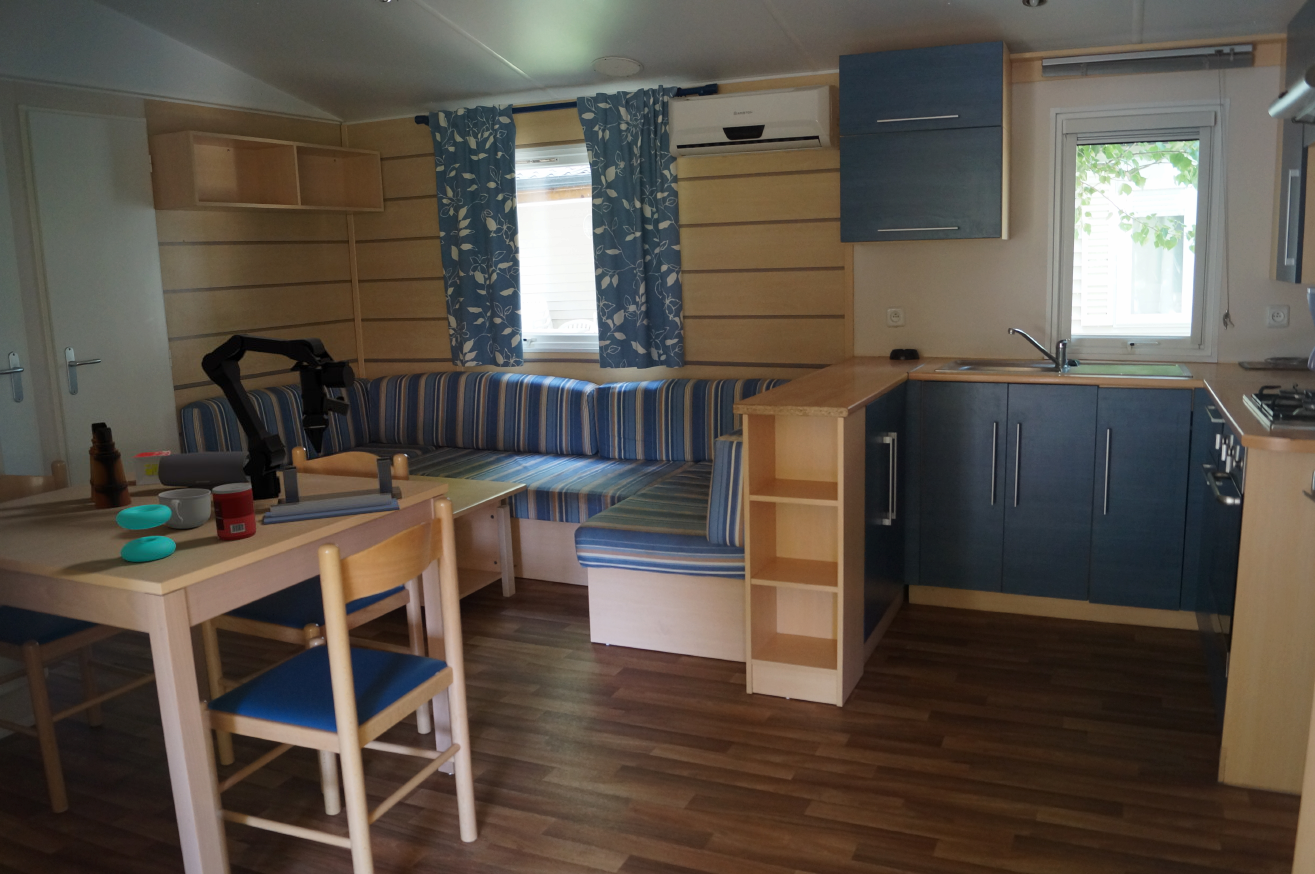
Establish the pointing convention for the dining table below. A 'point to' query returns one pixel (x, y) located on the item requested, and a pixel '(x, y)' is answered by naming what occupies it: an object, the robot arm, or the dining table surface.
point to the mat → (330, 513)
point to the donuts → (149, 545)
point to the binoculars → (106, 470)
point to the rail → (330, 504)
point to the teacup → (187, 507)
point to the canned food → (234, 511)
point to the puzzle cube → (148, 467)
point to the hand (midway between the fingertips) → (318, 450)
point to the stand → (384, 487)
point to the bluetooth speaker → (203, 469)
